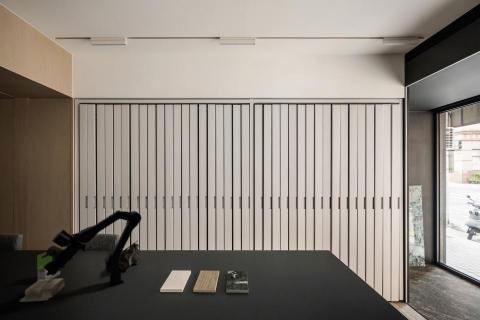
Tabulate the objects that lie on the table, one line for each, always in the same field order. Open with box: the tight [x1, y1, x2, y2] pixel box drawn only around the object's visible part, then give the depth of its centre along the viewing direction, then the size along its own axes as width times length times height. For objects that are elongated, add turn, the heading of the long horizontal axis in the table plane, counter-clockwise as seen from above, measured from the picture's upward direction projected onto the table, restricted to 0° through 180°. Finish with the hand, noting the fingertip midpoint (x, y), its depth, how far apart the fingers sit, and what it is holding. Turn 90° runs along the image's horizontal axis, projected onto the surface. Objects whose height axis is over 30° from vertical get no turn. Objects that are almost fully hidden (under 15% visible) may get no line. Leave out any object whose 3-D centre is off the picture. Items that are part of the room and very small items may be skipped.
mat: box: [19, 296, 51, 303], centre depth 145 cm, size 12×15×1 cm
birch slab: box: [24, 278, 66, 299], centre depth 145 cm, size 4×12×12 cm
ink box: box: [36, 252, 61, 282], centre depth 163 cm, size 10×5×14 cm, turn 168°
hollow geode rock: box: [119, 240, 143, 272], centre depth 181 cm, size 28×13×15 cm
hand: (47, 275), depth 145 cm, fingers closed
